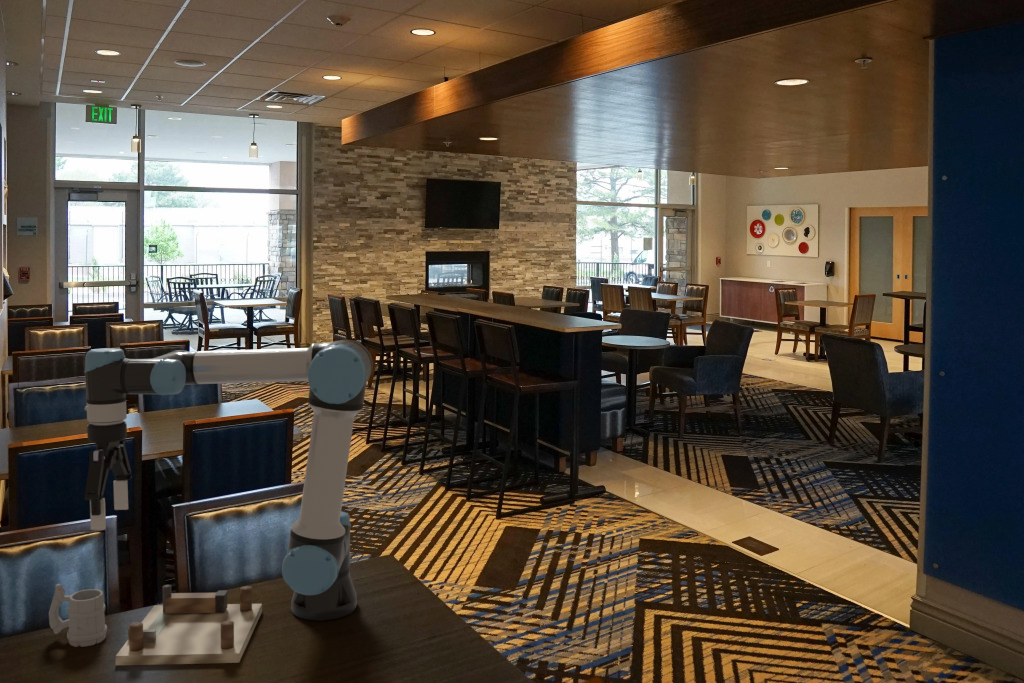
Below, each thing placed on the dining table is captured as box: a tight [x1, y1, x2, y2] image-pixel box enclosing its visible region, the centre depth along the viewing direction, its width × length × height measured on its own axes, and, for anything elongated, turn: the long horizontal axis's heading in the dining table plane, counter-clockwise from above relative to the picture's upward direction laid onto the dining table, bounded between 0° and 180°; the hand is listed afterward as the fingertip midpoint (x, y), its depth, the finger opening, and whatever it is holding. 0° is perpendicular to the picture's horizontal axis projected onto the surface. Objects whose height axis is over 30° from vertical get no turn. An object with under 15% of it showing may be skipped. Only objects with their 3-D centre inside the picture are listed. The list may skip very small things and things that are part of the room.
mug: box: [48, 583, 108, 648], centre depth 174 cm, size 8×12×12 cm, turn 91°
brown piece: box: [162, 584, 228, 614], centre depth 184 cm, size 14×3×6 cm, turn 96°
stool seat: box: [115, 585, 263, 666], centre depth 177 cm, size 24×24×7 cm
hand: (110, 519), depth 176 cm, fingers open, 13 cm apart
